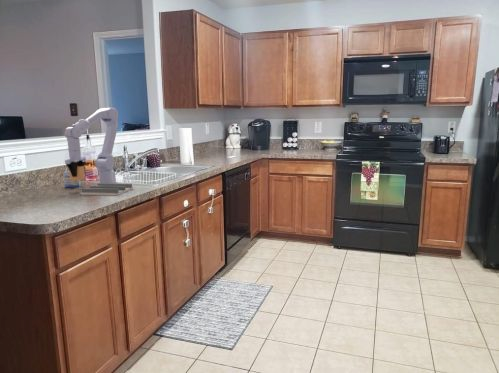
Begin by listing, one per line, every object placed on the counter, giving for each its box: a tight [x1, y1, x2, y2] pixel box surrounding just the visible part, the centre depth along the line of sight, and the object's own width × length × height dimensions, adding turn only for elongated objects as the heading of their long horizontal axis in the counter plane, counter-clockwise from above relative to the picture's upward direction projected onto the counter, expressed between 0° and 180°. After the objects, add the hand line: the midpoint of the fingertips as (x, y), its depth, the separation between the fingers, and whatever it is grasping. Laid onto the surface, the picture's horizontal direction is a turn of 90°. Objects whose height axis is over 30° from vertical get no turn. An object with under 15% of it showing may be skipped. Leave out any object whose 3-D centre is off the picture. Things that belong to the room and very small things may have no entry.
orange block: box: [68, 165, 86, 181], centre depth 203 cm, size 4×6×7 cm, turn 79°
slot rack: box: [80, 182, 134, 196], centre depth 201 cm, size 17×20×3 cm
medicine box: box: [62, 171, 82, 188], centre depth 218 cm, size 8×4×9 cm, turn 105°
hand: (77, 175), depth 203 cm, fingers closed on orange block, 4 cm apart
